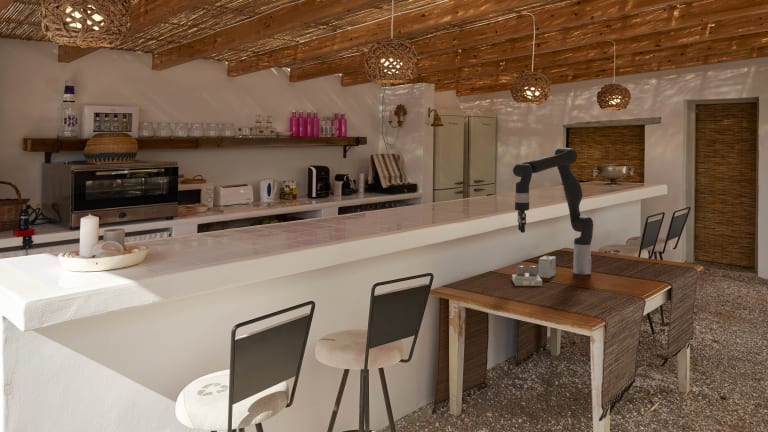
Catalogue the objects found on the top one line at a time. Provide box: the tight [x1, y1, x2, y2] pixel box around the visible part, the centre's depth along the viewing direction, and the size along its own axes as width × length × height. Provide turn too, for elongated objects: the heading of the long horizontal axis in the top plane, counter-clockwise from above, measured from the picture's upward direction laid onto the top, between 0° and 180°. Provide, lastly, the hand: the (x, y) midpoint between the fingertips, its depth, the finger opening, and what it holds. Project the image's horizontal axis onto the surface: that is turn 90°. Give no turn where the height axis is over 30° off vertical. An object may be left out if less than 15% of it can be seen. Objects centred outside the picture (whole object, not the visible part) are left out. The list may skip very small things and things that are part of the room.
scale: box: [511, 272, 543, 287], centre depth 319 cm, size 14×14×4 cm
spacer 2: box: [528, 265, 538, 276], centre depth 318 cm, size 4×4×5 cm
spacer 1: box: [516, 265, 526, 276], centre depth 319 cm, size 4×4×5 cm
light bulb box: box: [538, 255, 557, 279], centre depth 335 cm, size 11×7×11 cm, turn 146°
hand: (521, 231), depth 317 cm, fingers open, 8 cm apart
